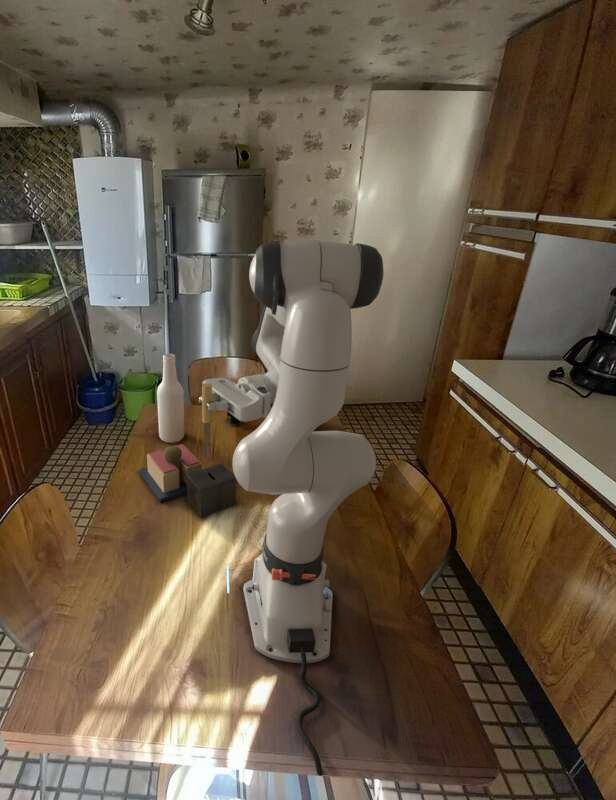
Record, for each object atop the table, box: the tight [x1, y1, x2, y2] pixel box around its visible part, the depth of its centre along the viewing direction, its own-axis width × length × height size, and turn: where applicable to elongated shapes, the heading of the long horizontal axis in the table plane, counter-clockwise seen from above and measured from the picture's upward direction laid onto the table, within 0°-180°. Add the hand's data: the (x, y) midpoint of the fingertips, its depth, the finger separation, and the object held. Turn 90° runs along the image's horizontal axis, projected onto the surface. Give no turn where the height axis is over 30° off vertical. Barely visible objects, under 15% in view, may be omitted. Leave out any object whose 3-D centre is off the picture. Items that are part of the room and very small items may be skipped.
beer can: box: [226, 411, 242, 426], centre depth 159 cm, size 5×5×12 cm
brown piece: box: [163, 445, 182, 483], centre depth 126 cm, size 6×6×11 cm
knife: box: [201, 383, 213, 461], centre depth 111 cm, size 2×2×21 cm
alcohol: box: [156, 353, 185, 444], centre depth 145 cm, size 9×9×30 cm
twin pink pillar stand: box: [138, 443, 203, 503], centre depth 128 cm, size 16×16×8 cm
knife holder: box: [186, 463, 238, 519], centre depth 118 cm, size 8×11×9 cm
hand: (204, 404), depth 108 cm, fingers closed on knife, 2 cm apart
